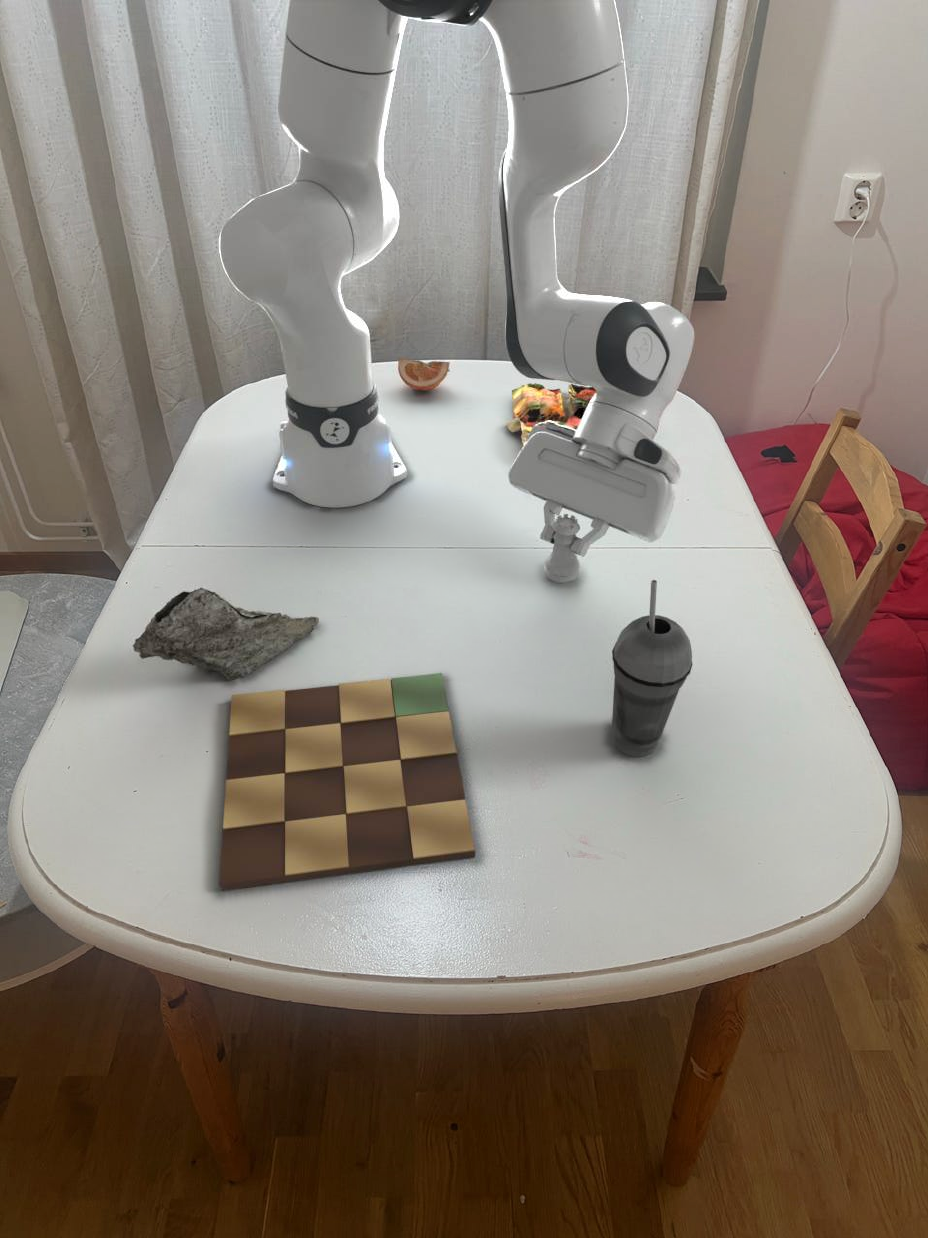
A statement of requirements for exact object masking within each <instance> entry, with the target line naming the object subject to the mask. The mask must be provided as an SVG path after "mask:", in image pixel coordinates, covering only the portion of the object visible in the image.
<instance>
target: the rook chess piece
mask: <svg viewBox="0 0 928 1238" xmlns="http://www.w3.org/2000/svg"><path fill="white" fill-rule="evenodd" d="M556 517H557V518H556V519H555V522H554V523H553V525H552V527H553V529H554V531H555V532H556V533H555V534H554V536H553V537H554V540H555V542H554V544H553V546H552V551H551V552H550V553H549V554H548V556H547V557H546V559H545V561H544V567H543V573H544V575H545V576H546V577H547V578H548V579H549V580H550V581H552V582H554V583H558V584H568V583H571V582H573V581H575V580H576V579H577V578H578V577H579V576H580V573H581V571H580V567H581V565H580V560H579V559H578V555H577V554H575V553H573V552H571V551H570V547H571V545H572V544H574V543H573V541H574V539H575V537H577V534H578V533H579V531H580V530H581V525H580V524H579V521H578V518H576V516H575V515H573V514H571V515H570V517H569V514H568V513H564V514H563V517H562V515H561V514H559V515H557V516H556Z"/></svg>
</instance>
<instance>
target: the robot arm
mask: <svg viewBox="0 0 928 1238" xmlns="http://www.w3.org/2000/svg"><path fill="white" fill-rule="evenodd" d="M408 19H411V20H416V21H419V22H420V21H421V22H427V23H428V22H429V23H441V24H449V25H456V26H462V27H470V26H473V25H475V24H476V23H477V22H478V21H481V22H483V24H485V26H486V27H487V28H488V30H489V31H490V33H491V35H492V37H493V39H494V42H495V46H496V49H497V54H498V57H499V61H500V68H501V75H502V78H503V86H504V90H505V96H506V101H507V112H508V139H507V147H506V148H505V150H504V151H503V153H502V155H501V159H500V163H499V168H498V181H497V182H498V186H497V187H498V188H497V189H498V206H499V208H498V209H499V218H500V219H499V222H500V231H501V241H502V242H501V243H502V253H503V265H504V267H503V268H504V276H505V277H504V278H505V288H506V313H505V314H506V315H505V323H504V324H505V325H504V343H505V348H506V351H507V354H508V357H509V359H510V362H511V364H512V365H513V366H514V368H515V369H516V370H517V371H518V372H519V373H520V374H521V375H522V376H524V377H526V378H528V379H533V380H534V379H535V380H545V381H546V380H547V381H560V382H565V383H569V384H573V385H578V386H584V387H588V386H589V387H593V388H594V389H595V390H596V394H595V395H594V396H593V398H592V399H591V400H590V402H589V404H588V406H587V408H585V409H584V412H583V415H582V417H581V418H580V419H581V421H580V423H579V425H578V428H577V430H576V429H573V428H570V427H567V426H562V425H559V424H557V423H555V422H553V421H546V422H543V423H539V424H537V425H535V426H533V428H532V429H531V431H530V433H529V435H528V437H527V439H526V444H525V445H523V446H522V448H521V449H520V451H519V453H518V454H517V456H516V458H515V459H514V461H513V463H512V464H511V466H510V468H509V471H508V474H507V476H508V481H509V484H510V485H511V486H513V488H515V489H516V490H518V491H519V492H522V493H525V494H528V495H530V496H533V497H535V498H537V499H540V500H543V501H545V503H544V506H543V519H544V526H543V529H542V531H541V532H540V537H539V538H540V539H541V540H542V541H545V542H546V543H549V544H551V545H554V542H555V540H554V537H553V536H554V534H555V533H556V532H555V531H554V529H553V527H552V525H553V523H554V522H555V521H556V519H555V518H556V517H555V515H556V516H559V515H561V512H562V510H563V509H565V510H568V511H570V512H573V513H575V514H577V515H580V516H583V517H585V518H587V519H590V520H592V521H591V523H590V527H591V528H592V529H591V530H590V531H589V532H588V533H586V534H585V535H584V536H583V537H582V538H581V537H575V539H574V541H573V543H574V544H572V545H571V547H570V551H571V552H573V553H575V554H576V556H580V557H582V558H584V557H585V556H586V555H587V552H588V550H589V549H590V547H591V545H593V544H594V543H595V542H597V541H598V540H600V539H601V538H603V537H604V536H606V534H607V531H608V529H609V527H610V528H613V529H615V530H618V531H619V532H622V533H625V534H628V535H630V536H633V537H636V538H638V539H640V540H643V541H646V542H648V543H653V542H655V541H657V540H659V539H660V538H662V535H663V534H664V532H665V530H666V527H667V525H668V523H669V520H670V517H671V514H672V512H673V508H674V505H675V501H676V492H675V489H674V487H673V486H672V485H675V484H677V483H678V481H679V479H680V478H681V476H682V471H681V467H680V465H679V463H678V462H677V460H676V459H675V457H674V456H673V455H672V453H670V451H668V450H667V449H666V448H664V446H662V445H661V444H659V443H658V442H657V441H656V440H655V439H656V436H657V434H658V432H659V426H660V423H661V422H660V420H661V418H662V415H663V413H664V412H665V411H666V409H667V408H668V406H669V405H671V403H672V402H673V400H674V398H675V396H676V393H677V391H678V390H679V387H680V385H681V382H682V381H683V377H684V375H685V373H686V370H687V368H688V364H689V362H690V358H691V355H692V351H693V348H694V343H695V330H694V329H695V328H694V327H693V325H692V323H691V322H690V320H689V319H688V318H687V317H686V316H685V315H684V314H683V313H682V312H681V311H680V310H678V309H677V308H675V307H673V306H672V305H669V304H667V303H663V302H660V301H649V302H646V303H640V302H637V301H634V300H631V299H627V298H621V297H613V296H607V295H605V296H604V295H589V294H582V293H581V294H579V293H572V292H569V291H568V290H566V288H564V286H563V285H562V284H561V283H560V282H559V279H558V271H557V269H558V267H557V249H556V248H557V246H556V228H555V226H556V225H555V224H556V223H555V213H556V208H557V204H558V201H559V199H560V197H561V196H562V194H563V193H564V192H565V191H566V190H568V189H569V188H570V187H573V185H575V184H576V183H577V184H578V183H579V182H580V181H582V180H583V179H585V178H586V177H588V176H590V175H592V174H593V173H594V172H596V171H597V170H598V169H599V168H601V167H602V166H603V165H604V164H605V163H606V162H607V161H608V159H609V158H610V157H611V156H612V154H613V153H614V152H615V150H616V149H617V147H618V146H619V144H620V142H621V139H622V138H623V136H624V133H625V130H626V128H627V123H628V114H629V89H628V82H627V81H628V80H627V79H628V78H627V72H626V63H625V62H626V61H625V53H624V46H623V39H622V32H621V25H620V21H619V20H620V19H619V14H618V10H617V5H616V0H289V5H288V11H287V21H286V27H285V36H284V44H283V45H284V46H283V47H284V48H283V53H282V54H283V56H282V64H281V73H280V81H279V82H280V83H279V94H278V101H277V102H278V103H277V113H278V118H279V121H280V124H281V126H282V128H283V130H284V131H285V132H286V134H287V135H288V136H289V137H290V139H291V140H292V141H293V142H294V143H295V144H296V145H297V146H298V154H299V166H298V167H299V168H298V171H297V174H296V175H295V178H294V180H293V181H292V182H291V183H289V184H286V185H284V186H282V187H280V188H277V189H274V190H271V191H269V192H266V193H264V194H261V195H258V196H256V197H254V198H252V199H251V200H250V201H248V202H247V203H246V204H245V205H243V206H242V207H241V208H240V209H238V210H237V211H236V212H235V213H234V214H233V215H231V216H230V217H229V218H228V219H227V220H226V221H225V223H224V224H223V225H222V228H221V230H220V233H219V239H218V248H219V249H218V250H219V256H220V261H221V264H222V268H223V270H224V272H225V274H226V276H227V278H228V279H229V281H230V282H231V284H232V285H233V286H234V288H235V289H236V290H237V291H238V292H239V293H240V294H242V295H243V297H245V298H246V299H248V300H249V301H251V302H253V303H255V304H257V305H259V306H260V307H261V308H262V309H263V310H264V311H265V312H266V314H267V315H268V317H269V319H270V320H271V322H272V324H273V327H274V329H275V331H276V334H277V337H278V340H279V344H280V350H281V356H282V360H283V366H284V373H285V379H286V388H285V392H284V395H285V400H284V401H285V407H286V411H287V417H288V420H287V421H284V420H283V421H281V422H280V429H279V435H278V436H279V440H280V441H279V442H280V448H281V456H280V459H279V461H278V464H277V465H276V468H275V471H274V474H273V477H272V486H273V488H274V489H276V490H280V491H283V492H286V493H290V494H291V495H293V496H294V497H296V498H297V499H299V500H300V501H302V502H304V503H307V504H308V505H312V506H316V507H322V508H330V509H331V508H332V509H333V508H338V509H339V508H348V507H355V506H359V505H363V504H366V503H368V502H371V501H374V500H375V499H377V498H378V497H379V496H381V495H383V494H384V493H385V492H386V491H387V490H389V488H390V487H391V486H392V485H394V484H397V483H398V482H401V481H403V480H405V479H406V478H407V477H408V470H407V467H406V465H405V464H404V462H403V460H402V459H401V457H400V456H399V454H398V452H397V450H396V448H395V447H394V445H393V442H392V432H391V426H390V424H388V423H387V420H386V419H385V418H384V417H383V416H382V415H381V413H380V412H379V393H378V389H377V384H376V383H375V381H374V379H373V377H374V376H373V368H372V367H373V362H372V350H371V348H372V347H371V335H370V331H369V328H368V325H367V324H366V323H365V321H364V320H363V319H362V318H361V317H360V316H358V315H357V314H356V313H354V312H352V311H350V310H349V309H347V308H346V306H345V303H344V299H343V297H342V293H341V292H342V291H341V282H342V277H343V276H345V275H347V274H349V273H351V272H353V271H355V270H357V269H358V268H361V267H362V266H364V265H366V264H368V263H370V262H371V261H372V260H374V259H375V258H376V257H377V256H378V255H379V254H380V253H381V252H382V251H383V250H384V249H385V248H386V247H387V246H388V244H389V243H390V242H392V240H393V238H394V237H395V235H396V233H397V231H398V227H399V224H400V207H399V202H398V199H397V197H396V193H395V191H394V189H393V188H392V186H391V184H390V183H389V181H388V180H387V179H386V177H385V171H384V170H385V169H384V143H385V133H386V132H385V131H386V127H387V121H388V116H389V110H390V104H391V99H392V94H393V88H394V83H395V77H396V72H397V67H398V63H399V57H400V51H401V47H402V41H403V36H404V32H405V28H406V25H407V22H408ZM540 426H544V427H545V428H543V427H540ZM554 431H555V432H554ZM557 432H558V433H557Z"/></svg>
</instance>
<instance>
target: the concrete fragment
mask: <svg viewBox="0 0 928 1238" xmlns="http://www.w3.org/2000/svg"><path fill="white" fill-rule="evenodd" d="M153 615H154V616H153V617H152V618H150V621H149V623H148V624H147V625H146V626H145V629H144V631H143V633H142V634H141V635H140V636H139V637H138V638H135V639H134V643H133V644H132V647H133V651H134V652H135V653H138V656H139V658H141V659H142V660H143V659H148V658H154V657H158V658H161V659H162V660H164V661H173V660H174V661H177V662H179V663H181V664H186V665H191V666H196V667H199V668H202V669H205V670H209V671H216V672H217V673H219V674H221V675H222V676H224V678H225V679H226V680H227V681H233V680H236V679H239V678H244V677H248V676H250V675H251V674H252V673H253V672H254V671H257V670H259V668H260V667H262V666H263V665H264V664H266V663H267V662H268V661H271V660H272V659H273V658H275V657H278V656H279V655H281V654H282V653H284V652H287V650H288V649H289V648H291V647H292V645H293V644H294V643H295V642H297V641H299V640H301V639H302V638H305V637H307V636H308V635H309V634H310V633H311V632H312V631H313V630H314V628H316V626H317V625H318V623H319V622H320V619H319V617H318V616H308V617H307V616H305V617H293V618H292V617H290V616H289V615H287V614H286V613H285V614H282V613H281V612H270V611H261V610H252V611H251V610H250V611H249V610H246V609H243V608H242V607H238V606H237V607H235V606H234V605H233V604H231V603H230V602H229V601H227V600H226V599H225V598H224V597H222V596H221V595H220V594H219V593H216V592H215V591H211V590H208V589H206V588H203V587H200V588H197V589H194V590H193V591H182V592H180V593H178V594H177V595H174V597H172V598H171V599H170V600H169V601H167V602H166V604H165V605H164V606H162V608H161V609H160V610H159V611H156V613H155V614H153Z"/></svg>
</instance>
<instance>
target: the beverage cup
mask: <svg viewBox="0 0 928 1238" xmlns="http://www.w3.org/2000/svg"><path fill="white" fill-rule="evenodd" d="M657 589H658V581H657V580H656V579H651V581H650V597H649V600H650V601H649V614H648V615H643V616H641V617H639V618H636V619H634V620H632V621H631V622H630V623H628V624H627V625H626V626H625V627H624V628H623V629H622V630H621V631H620V633H619V635H618V637H617V639H616V641H615V643H614V645H613V648H612V651H611V655H612V656H611V659H612V662H613V663H612V664H613V674H614V683H613V700H612V715H611V716H612V717H611V721H612V722H611V731H612V734H611V740H612V743H613V745H614V747H615V748H616V749H617V750H618V751H619V752H620V753H622V754H624V755H627V756H629V757H632V758H642V757H643V758H644V757H647V756H649V755H651V754H652V753H653V752H655V750H656V749H657V746H658V744H659V741H660V740H661V738H662V735H663V732H664V730H665V728H666V725H667V722H668V719H669V718H670V714H671V712H672V709H673V707H674V705H675V702H676V699H677V696H678V694H679V691H680V689H681V688H682V687H683V685H684V683H685V681H686V680H687V677H688V676H689V675H690V674H691V671H692V668H693V651H692V645H691V640H690V638H689V636H688V634H687V633H686V631H685V629H684V628H683V627H682V626H680V625H679V624H678V623H677V622H676V621H675V620H673V619H671V618H668V617H667V616H662V615H659V614H658V615H657V614H656V605H657Z"/></svg>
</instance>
